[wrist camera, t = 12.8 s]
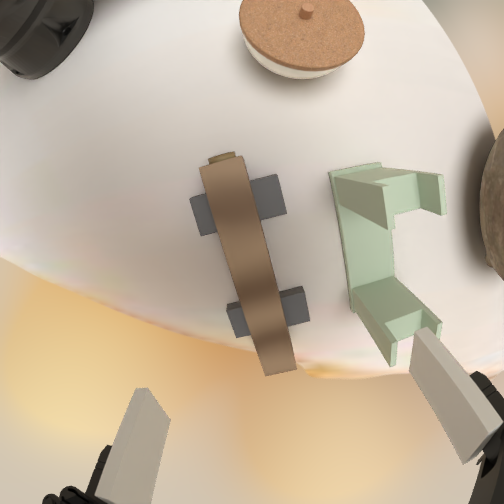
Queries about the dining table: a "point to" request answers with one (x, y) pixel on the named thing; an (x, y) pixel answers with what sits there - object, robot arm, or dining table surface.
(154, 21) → the dining table surface
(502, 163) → the bowl
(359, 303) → the rack
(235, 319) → the rests
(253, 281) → the rail
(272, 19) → the lidded jar
